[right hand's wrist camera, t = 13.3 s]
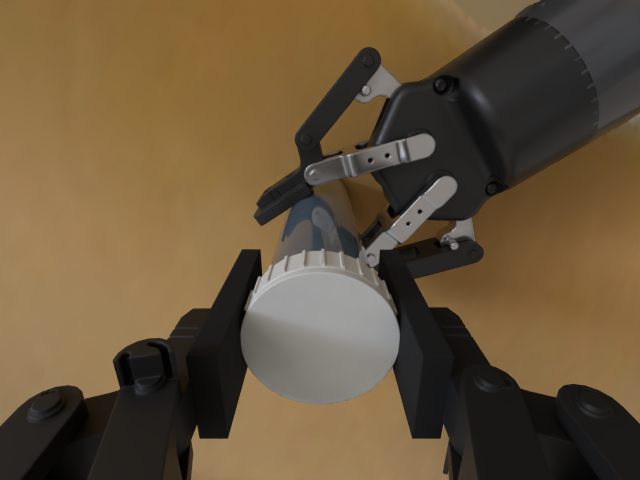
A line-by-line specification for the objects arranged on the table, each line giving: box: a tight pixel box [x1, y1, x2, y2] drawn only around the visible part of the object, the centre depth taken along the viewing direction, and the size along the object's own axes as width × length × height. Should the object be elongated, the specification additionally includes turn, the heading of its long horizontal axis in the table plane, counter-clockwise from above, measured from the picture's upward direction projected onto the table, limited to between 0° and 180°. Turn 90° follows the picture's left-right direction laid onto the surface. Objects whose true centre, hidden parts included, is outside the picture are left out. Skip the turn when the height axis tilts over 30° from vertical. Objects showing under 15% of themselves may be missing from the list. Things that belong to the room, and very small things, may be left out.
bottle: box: [271, 179, 371, 269], centre depth 19 cm, size 4×4×17 cm
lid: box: [240, 249, 400, 404], centre depth 12 cm, size 5×5×2 cm
